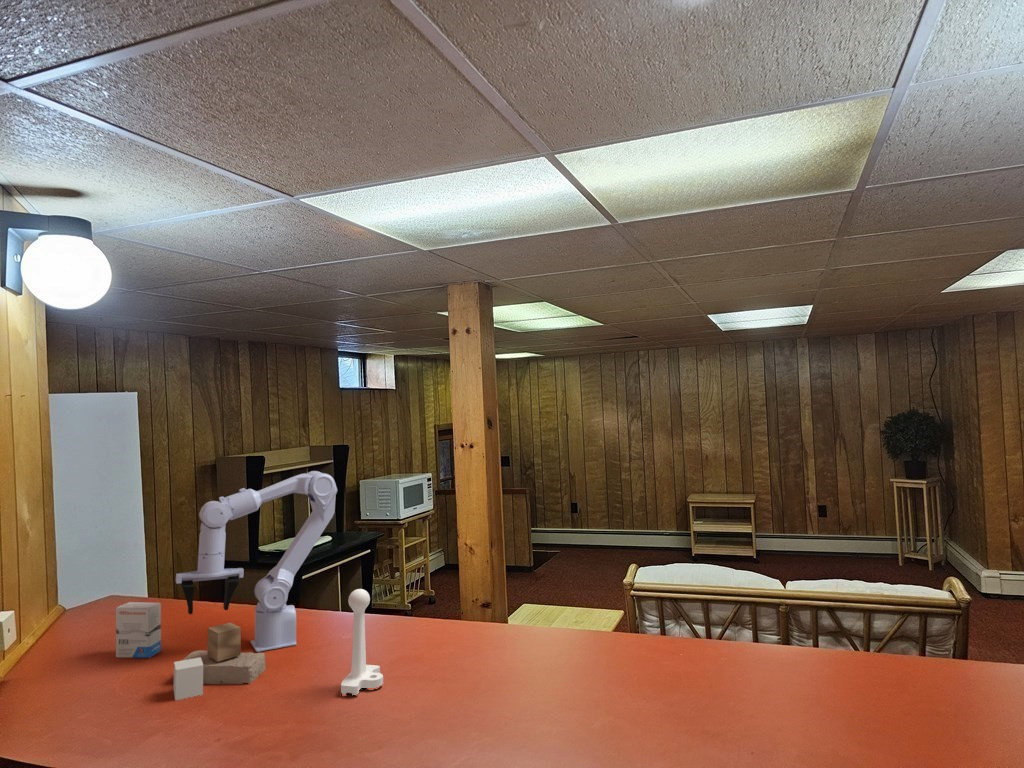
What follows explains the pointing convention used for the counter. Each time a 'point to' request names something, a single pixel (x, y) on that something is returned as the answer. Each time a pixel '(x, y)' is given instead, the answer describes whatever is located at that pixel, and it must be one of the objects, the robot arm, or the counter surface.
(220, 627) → the walnut block
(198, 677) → the grey block
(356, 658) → the joystick
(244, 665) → the brick
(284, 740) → the counter surface
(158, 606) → the ink box
